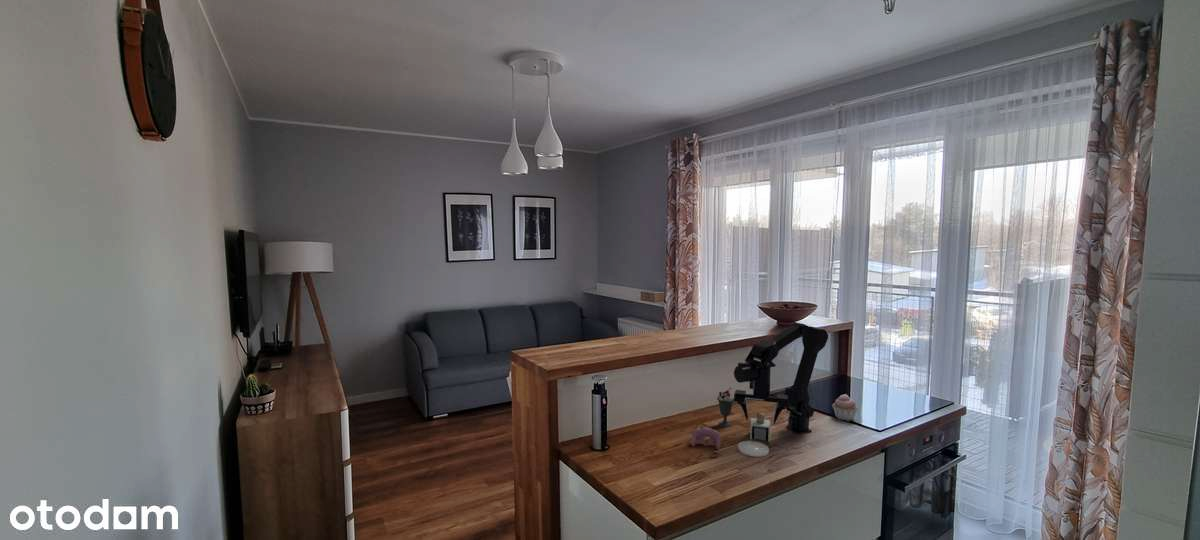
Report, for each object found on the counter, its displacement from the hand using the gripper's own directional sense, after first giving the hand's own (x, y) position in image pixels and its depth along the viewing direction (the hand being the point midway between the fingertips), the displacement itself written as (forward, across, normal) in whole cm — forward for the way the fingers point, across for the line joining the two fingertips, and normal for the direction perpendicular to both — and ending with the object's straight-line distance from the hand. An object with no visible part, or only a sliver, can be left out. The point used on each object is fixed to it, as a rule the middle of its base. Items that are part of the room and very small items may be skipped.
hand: (760, 421), depth 170 cm
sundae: (+6, +13, -7) cm, 16 cm away
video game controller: (+6, +18, +14) cm, 23 cm away
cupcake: (+6, -32, -30) cm, 44 cm away
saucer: (+6, +2, +12) cm, 13 cm away
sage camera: (+6, 0, 0) cm, 6 cm away
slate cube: (+6, 0, 0) cm, 6 cm away
